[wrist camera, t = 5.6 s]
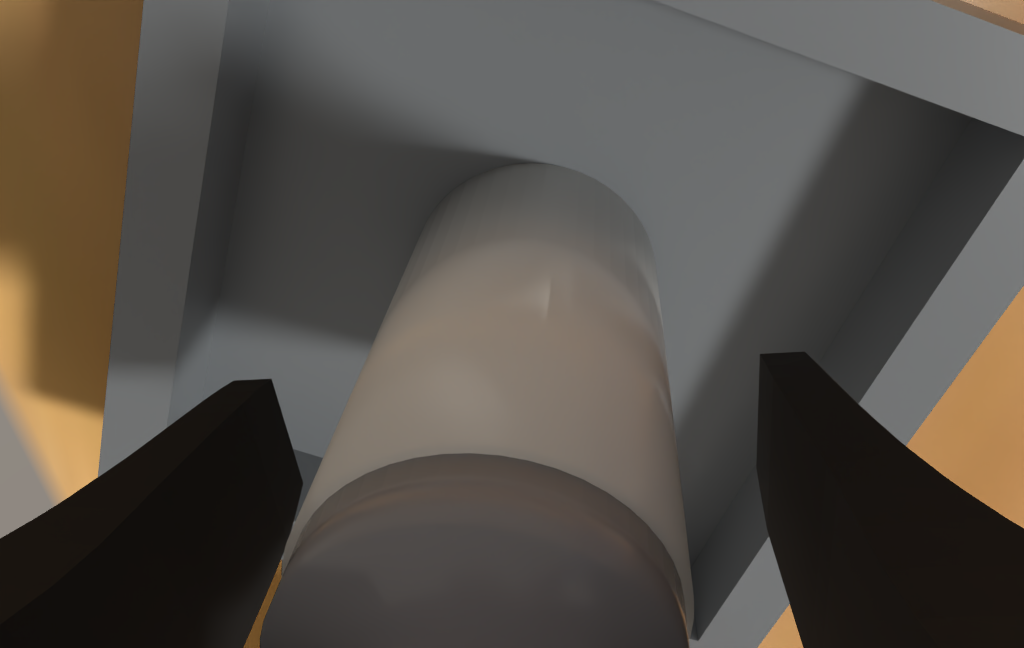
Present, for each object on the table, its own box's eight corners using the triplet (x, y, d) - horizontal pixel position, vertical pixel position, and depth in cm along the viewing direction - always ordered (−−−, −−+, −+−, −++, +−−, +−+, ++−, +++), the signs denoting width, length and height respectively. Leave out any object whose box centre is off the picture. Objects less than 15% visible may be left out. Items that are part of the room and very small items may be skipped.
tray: (1066, 41, 15) (1166, 90, 12) (710, 585, 22) (726, 690, 19) (253, -268, 13) (171, -288, 11) (158, 417, 20) (95, 505, 18)
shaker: (643, 146, 15) (685, 498, 7) (665, 367, 17) (716, 816, 10) (389, 181, 16) (184, 532, 8) (442, 388, 18) (320, 819, 10)
